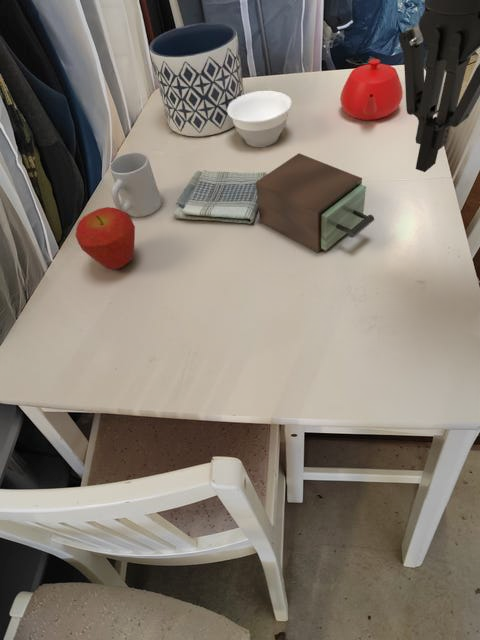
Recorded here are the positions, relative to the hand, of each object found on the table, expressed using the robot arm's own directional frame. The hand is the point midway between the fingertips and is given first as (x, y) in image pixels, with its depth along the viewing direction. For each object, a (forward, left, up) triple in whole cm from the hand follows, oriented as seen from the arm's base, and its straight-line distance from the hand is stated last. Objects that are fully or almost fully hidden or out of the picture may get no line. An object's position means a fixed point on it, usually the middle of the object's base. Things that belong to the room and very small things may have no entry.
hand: (425, 166), depth 64 cm
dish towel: (+43, -2, -21) cm, 48 cm away
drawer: (+18, -3, -20) cm, 27 cm away
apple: (+49, +25, -21) cm, 59 cm away
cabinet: (+22, -4, -20) cm, 30 cm away
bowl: (+50, -28, -21) cm, 61 cm away
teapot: (+31, -50, -21) cm, 63 cm away
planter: (+71, -31, -21) cm, 80 cm away
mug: (+58, +10, -21) cm, 62 cm away
